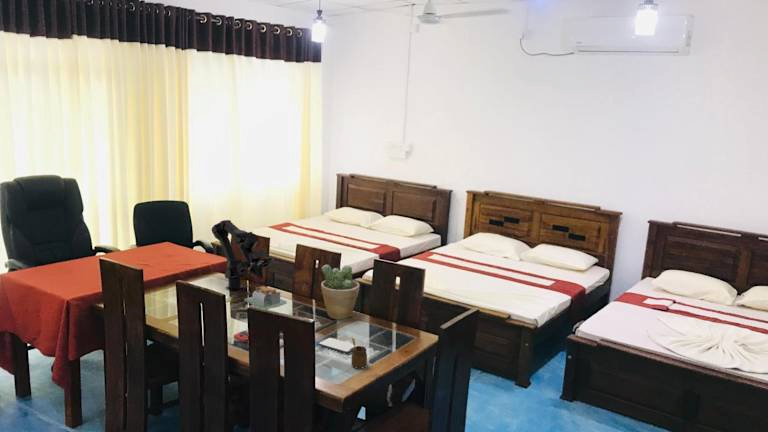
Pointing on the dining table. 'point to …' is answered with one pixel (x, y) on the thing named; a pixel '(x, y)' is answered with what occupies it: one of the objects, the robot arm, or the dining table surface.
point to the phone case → (337, 345)
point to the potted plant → (339, 291)
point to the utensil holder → (359, 355)
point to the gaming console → (242, 336)
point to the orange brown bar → (267, 289)
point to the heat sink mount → (265, 299)
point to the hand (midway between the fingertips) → (262, 278)
